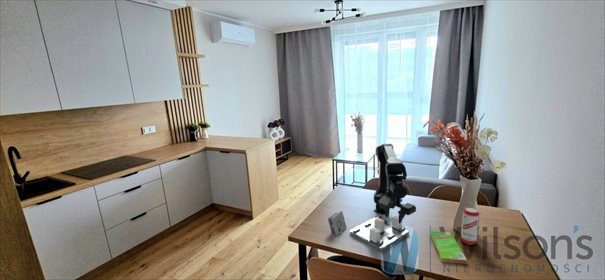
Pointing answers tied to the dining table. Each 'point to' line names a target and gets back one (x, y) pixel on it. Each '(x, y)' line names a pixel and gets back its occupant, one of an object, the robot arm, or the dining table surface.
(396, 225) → the block
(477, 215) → the beer can
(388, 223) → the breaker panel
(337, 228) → the electrical switch
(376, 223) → the breaker
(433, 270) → the dining table surface
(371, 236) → the breaker
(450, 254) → the game box
